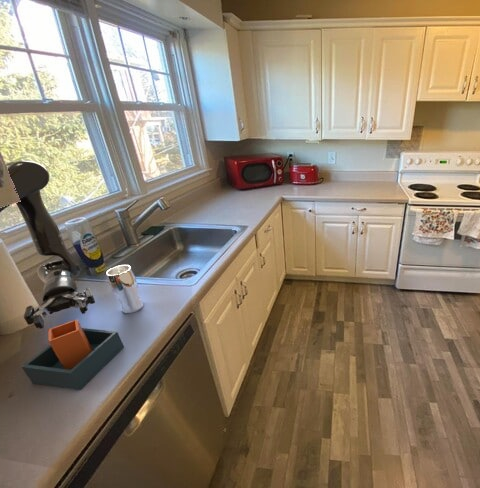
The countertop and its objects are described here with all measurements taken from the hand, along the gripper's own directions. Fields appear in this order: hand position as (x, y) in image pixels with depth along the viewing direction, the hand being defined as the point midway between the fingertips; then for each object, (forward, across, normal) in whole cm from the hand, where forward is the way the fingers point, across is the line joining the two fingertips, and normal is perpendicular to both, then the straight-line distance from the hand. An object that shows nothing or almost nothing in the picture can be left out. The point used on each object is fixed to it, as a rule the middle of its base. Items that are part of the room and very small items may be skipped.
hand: (62, 318), depth 74 cm
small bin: (+6, 0, +11) cm, 12 cm away
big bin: (+6, 0, +12) cm, 13 cm away
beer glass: (-12, +15, +12) cm, 22 cm away
